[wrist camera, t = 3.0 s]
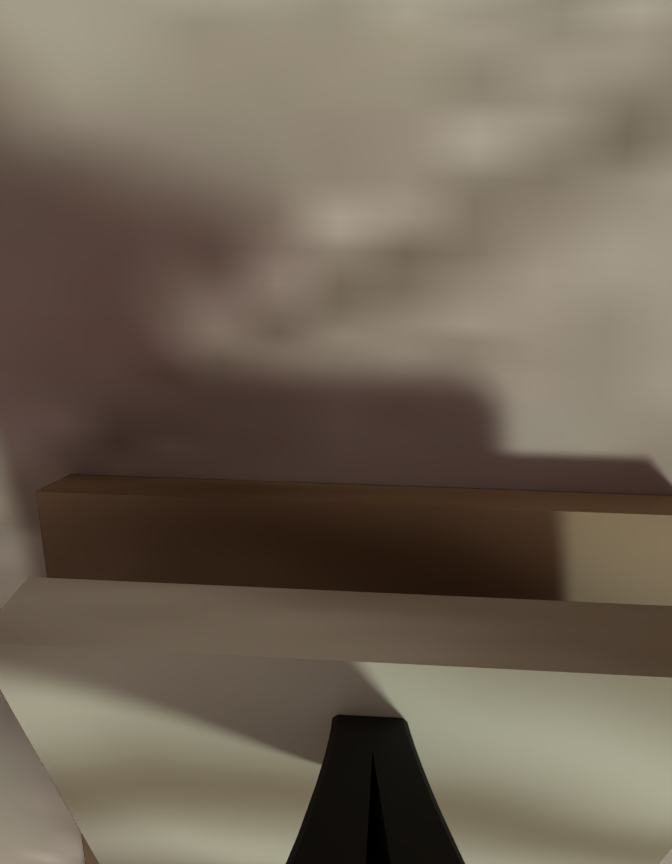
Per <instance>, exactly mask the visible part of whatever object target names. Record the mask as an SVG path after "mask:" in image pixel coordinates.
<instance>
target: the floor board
mask: <svg viewBox="0 0 672 864" xmlns="http://www.w3.org/2000/svg"><path fill="white" fill-rule="evenodd" d="M36 496H37V503H38V511H39V518H40V526H41V533H42V541H43V548H44V556H45V563H46V571H47V578H62V579H85V580H107V581H129V582H151V583H174V584H196V585H218V586H240V587H263V588H285V589H307V590H329V591H352V592H374V593H396V594H419V595H441V596H463V597H485V598H508V599H530V600H552V601H574V602H597V603H619V604H641V605H663V606H672V496H663V495H635V494H607V493H579V492H551V491H523V490H495V489H467V488H438V487H410V486H382V485H354V484H326V483H298V482H270V481H242V480H214V479H185V478H157V477H129V476H101V475H73V474H70V475H68V476H66V477H64V478H62V479H60V480H58V481H56V482H54V483H52V484H50V485H48V486H46V487H44V488H42V489H40V490H38V491H36ZM81 834H82V832H81ZM82 842H83V849H84V857H85V864H99V862H98V861H97V859H96V857H95V855H94V854H93V852H92V850H91V848H90V847H89V845H88V843H87V841H86V840H85V838H84V836H83V834H82Z"/></svg>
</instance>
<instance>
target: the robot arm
mask: <svg viewBox="0 0 672 864" xmlns="http://www.w3.org/2000/svg"><path fill="white" fill-rule="evenodd" d="M286 864H465V862H464V860H463V858H462V856H461V854H460V852H459V850H458V847H457V845H456V843H455V841H454V839H453V836H452V834H451V832H450V830H449V828H448V825H447V823H446V821H445V819H444V817H443V815H442V812H441V810H440V808H439V806H438V803H437V801H436V799H435V796H434V794H433V792H432V789H431V787H430V784H429V782H428V779H427V777H426V774H425V772H424V769H423V767H422V764H421V761H420V759H419V756H418V753H417V750H416V748H415V745H414V742H413V739H412V735H411V732H410V729H409V726H408V722H407V721H406V720H404V719H403V718H396V717H376V716H358V715H340V714H338V715H336V716H335V717H333V718H332V724H331V730H330V735H329V740H328V744H327V748H326V752H325V756H324V759H323V763H322V766H321V769H320V773H319V776H318V779H317V782H316V785H315V788H314V791H313V794H312V797H311V799H310V802H309V805H308V808H307V811H306V813H305V816H304V819H303V822H302V825H301V827H300V830H299V833H298V835H297V838H296V840H295V843H294V845H293V847H292V850H291V852H290V855H289V857H288V859H287V862H286Z"/></svg>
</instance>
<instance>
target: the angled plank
mask: <svg viewBox="0 0 672 864" xmlns="http://www.w3.org/2000/svg"><path fill="white" fill-rule="evenodd" d="M0 690H1V692H2V693H3V695H4V697H5V699H6V701H7V702H8V704H9V706H10V708H11V709H12V711H13V713H14V715H15V716H16V718H17V720H18V722H19V723H20V725H21V727H22V729H23V730H24V732H25V734H26V736H27V737H28V739H29V741H30V743H31V744H32V746H33V748H34V750H35V752H36V753H37V755H38V757H39V759H40V760H41V762H42V764H43V766H44V767H45V769H46V771H47V773H48V774H49V776H50V778H51V780H52V781H53V783H54V785H55V787H56V788H57V790H58V792H59V794H60V796H61V797H62V799H63V801H64V803H65V804H66V806H67V808H68V810H69V811H70V813H71V815H72V817H73V818H74V820H75V822H76V824H77V825H78V827H79V829H80V831H81V832H82V834H83V836H84V838H85V840H86V841H87V843H88V845H89V847H90V848H91V850H92V852H93V854H94V855H95V857H96V859H97V861H98V862H99V864H286V862H287V859H288V857H289V855H290V852H291V850H292V847H293V845H294V843H295V840H296V838H297V835H298V833H299V830H300V827H301V825H302V822H303V819H304V816H305V813H306V811H307V808H308V805H309V802H310V799H311V797H312V794H313V791H314V788H315V785H316V782H317V779H318V776H319V773H320V769H321V766H322V763H323V759H324V756H325V752H326V748H327V744H328V740H329V735H330V730H331V724H332V718H333V717H335V716H336V715H338V714H340V715H358V716H376V717H396V718H403V719H404V720H406V721H407V722H408V726H409V729H410V732H411V735H412V739H413V742H414V745H415V748H416V750H417V753H418V756H419V759H420V761H421V764H422V767H423V769H424V772H425V774H426V777H427V779H428V782H429V784H430V787H431V789H432V792H433V794H434V796H435V799H436V801H437V803H438V806H439V808H440V810H441V812H442V815H443V817H444V819H445V821H446V823H447V825H448V828H449V830H450V832H451V834H452V836H453V839H454V841H455V843H456V845H457V847H458V850H459V852H460V854H461V856H462V858H463V860H464V862H465V864H659V863H660V862H661V861H662V860H663V858H664V857H665V856H666V855H667V853H668V852H669V851H670V850H671V849H672V606H663V605H641V604H619V603H597V602H574V601H552V600H530V599H508V598H485V597H463V596H441V595H419V594H396V593H374V592H352V591H329V590H307V589H285V588H263V587H240V586H218V585H196V584H174V583H151V582H129V581H107V580H85V579H62V578H40V577H28V579H27V580H26V581H25V582H24V583H23V584H22V586H21V587H20V588H19V589H18V590H17V591H16V593H15V594H14V595H13V596H12V597H11V598H10V600H9V601H8V602H7V603H6V604H5V606H4V607H3V608H2V609H1V610H0Z"/></svg>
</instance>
